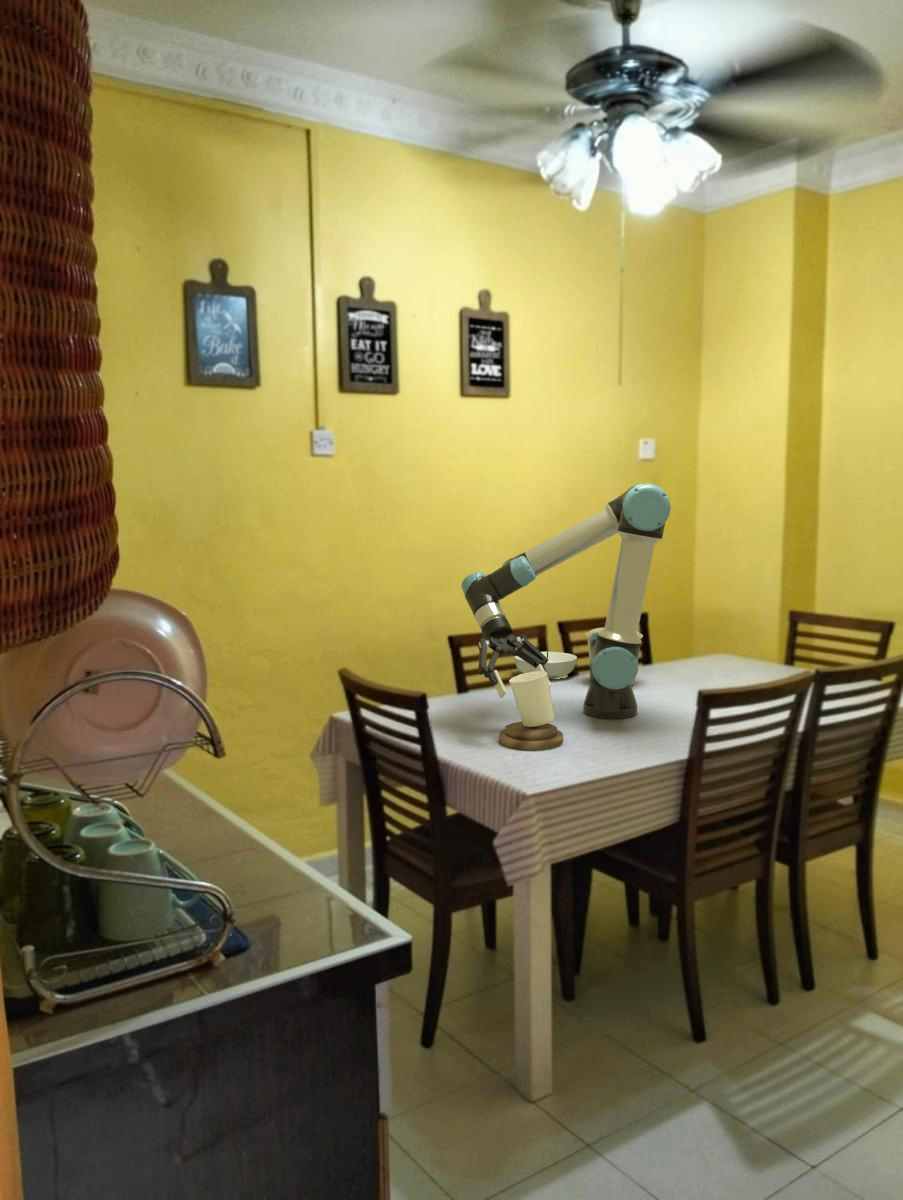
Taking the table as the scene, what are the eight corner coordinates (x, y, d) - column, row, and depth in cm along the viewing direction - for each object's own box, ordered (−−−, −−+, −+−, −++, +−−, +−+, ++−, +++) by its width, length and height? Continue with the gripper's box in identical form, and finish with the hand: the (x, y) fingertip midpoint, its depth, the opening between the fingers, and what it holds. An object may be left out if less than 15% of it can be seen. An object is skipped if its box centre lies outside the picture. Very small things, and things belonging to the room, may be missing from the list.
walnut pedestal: (569, 736, 237) (569, 722, 236) (554, 753, 222) (554, 739, 221) (509, 730, 242) (509, 717, 242) (490, 746, 227) (490, 733, 227)
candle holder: (561, 721, 229) (550, 674, 228) (522, 730, 229) (511, 684, 228) (554, 712, 239) (543, 668, 238) (517, 722, 239) (506, 677, 237)
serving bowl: (579, 671, 318) (579, 652, 317) (573, 684, 298) (573, 663, 297) (519, 669, 323) (519, 649, 322) (509, 681, 303) (509, 661, 302)
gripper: (527, 628, 251) (559, 693, 240) (447, 637, 239) (478, 705, 228) (538, 611, 246) (572, 677, 235) (457, 619, 234) (489, 689, 223)
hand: (526, 691), depth 232 cm, fingers open, 13 cm apart
